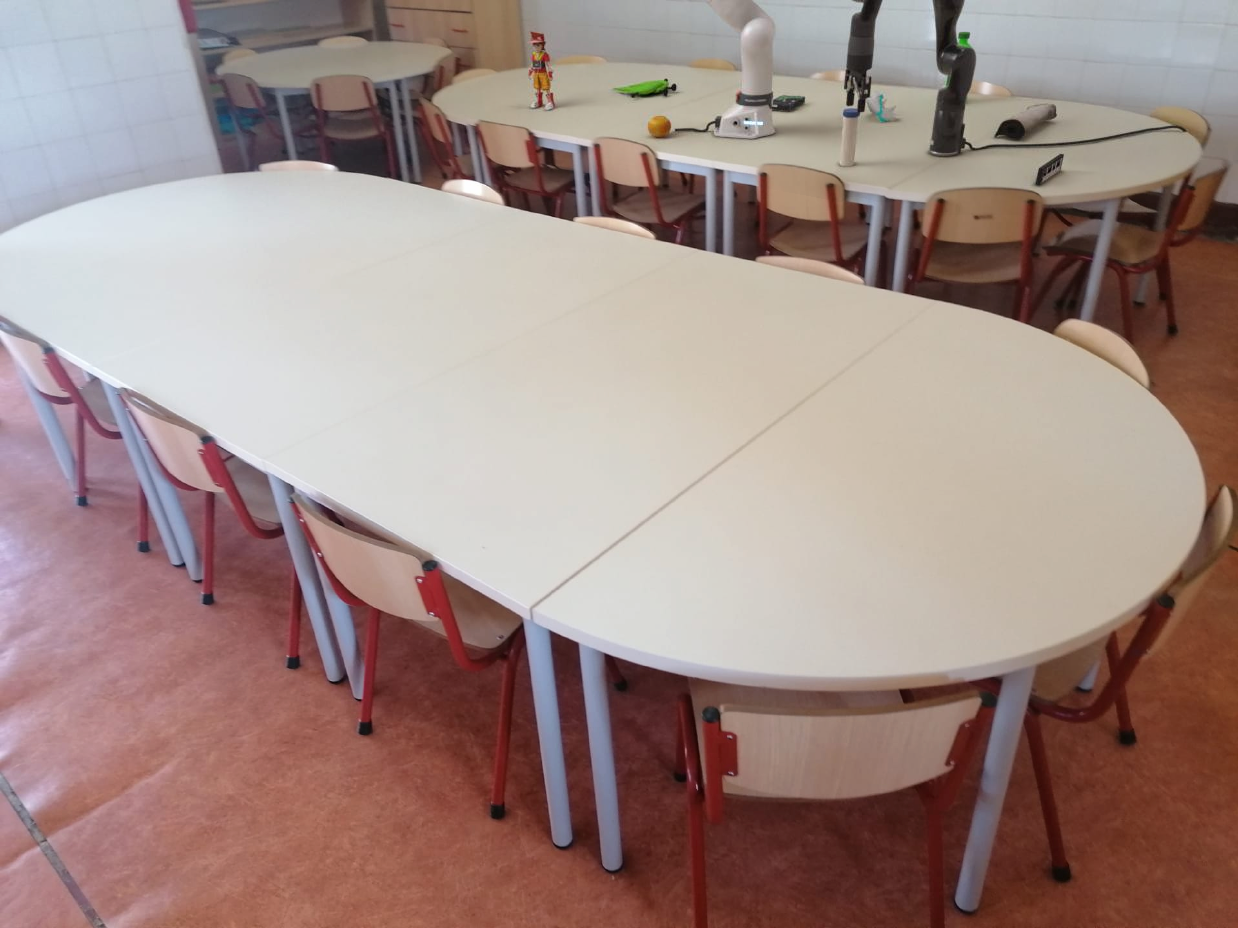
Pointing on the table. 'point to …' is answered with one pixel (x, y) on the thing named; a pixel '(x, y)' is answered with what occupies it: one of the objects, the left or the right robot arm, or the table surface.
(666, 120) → the fruit
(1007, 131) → the rolled mat
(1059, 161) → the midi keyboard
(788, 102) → the disk drive
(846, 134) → the jar
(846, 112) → the lid
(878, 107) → the anatomical model
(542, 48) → the toy
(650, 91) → the toy
